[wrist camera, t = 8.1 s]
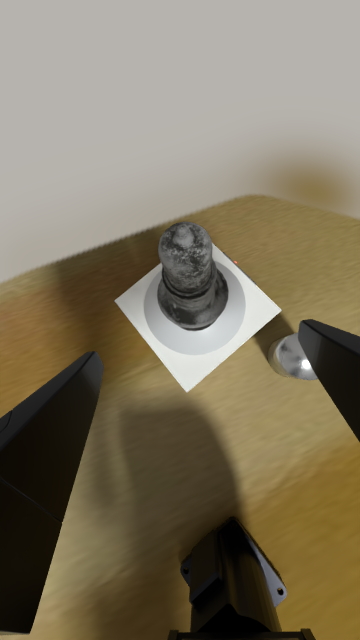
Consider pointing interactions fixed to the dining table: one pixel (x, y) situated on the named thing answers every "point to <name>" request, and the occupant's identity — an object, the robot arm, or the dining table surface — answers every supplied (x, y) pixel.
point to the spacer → (290, 359)
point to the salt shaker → (190, 278)
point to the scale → (206, 345)
